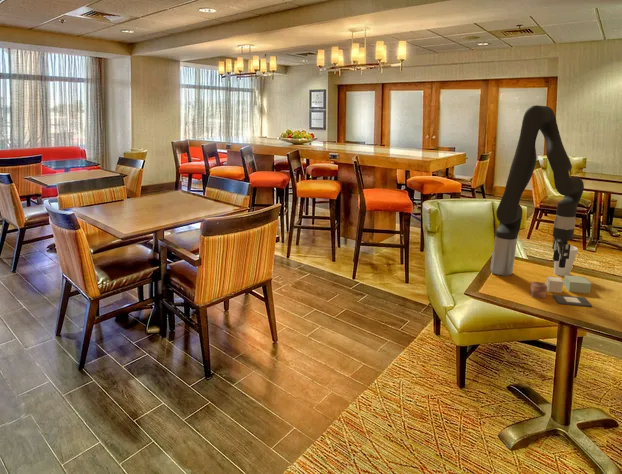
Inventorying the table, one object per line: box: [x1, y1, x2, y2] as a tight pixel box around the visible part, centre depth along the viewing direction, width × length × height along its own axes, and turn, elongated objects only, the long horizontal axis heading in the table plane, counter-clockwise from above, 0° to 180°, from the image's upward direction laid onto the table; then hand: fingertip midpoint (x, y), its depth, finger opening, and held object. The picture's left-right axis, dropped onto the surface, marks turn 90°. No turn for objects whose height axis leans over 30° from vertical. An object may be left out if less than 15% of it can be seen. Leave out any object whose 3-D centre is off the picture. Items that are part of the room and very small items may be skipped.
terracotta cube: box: [529, 281, 548, 300], centre depth 189 cm, size 5×5×5 cm
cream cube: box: [545, 276, 564, 294], centre depth 195 cm, size 5×5×5 cm
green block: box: [563, 275, 592, 294], centre depth 197 cm, size 8×8×4 cm
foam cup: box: [553, 245, 579, 277], centre depth 213 cm, size 10×9×13 cm
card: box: [552, 294, 593, 308], centre depth 184 cm, size 12×8×1 cm, turn 78°
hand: (558, 264), depth 192 cm, fingers open, 8 cm apart
